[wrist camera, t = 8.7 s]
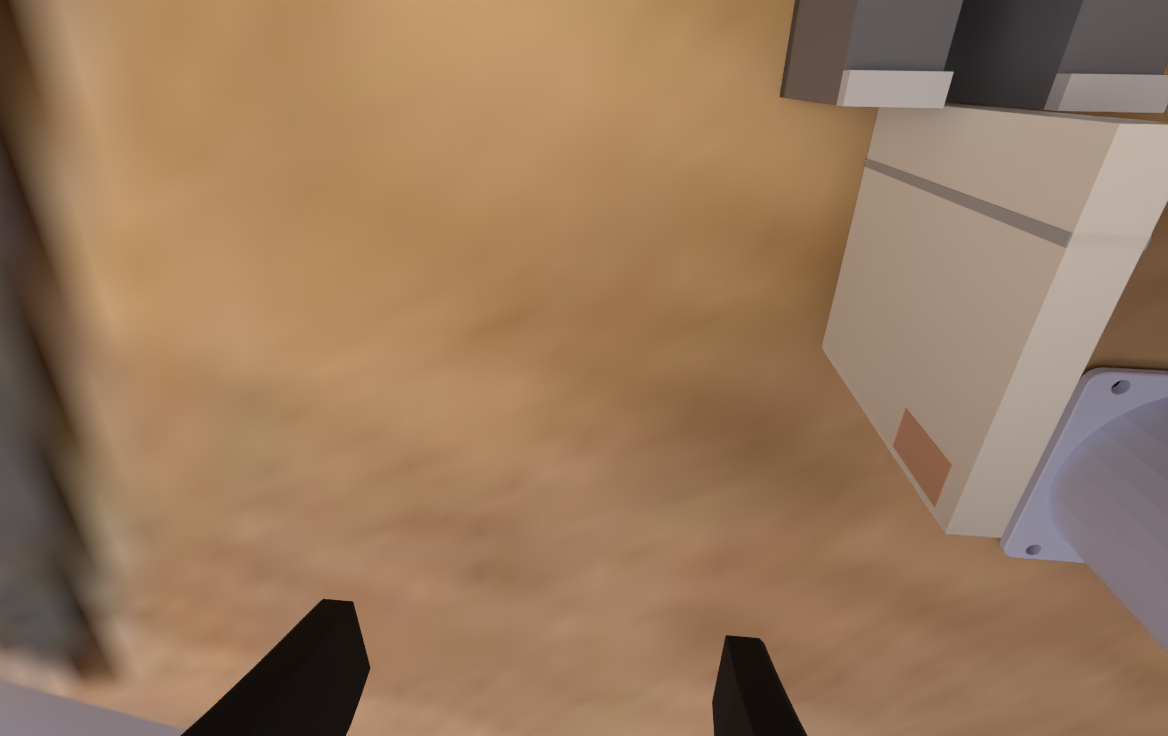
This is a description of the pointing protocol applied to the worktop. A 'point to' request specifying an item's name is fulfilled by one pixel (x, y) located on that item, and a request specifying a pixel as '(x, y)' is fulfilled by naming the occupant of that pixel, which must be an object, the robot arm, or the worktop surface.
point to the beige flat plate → (986, 287)
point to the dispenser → (980, 54)
